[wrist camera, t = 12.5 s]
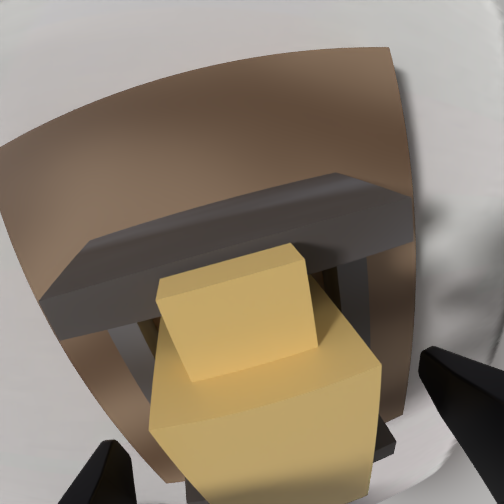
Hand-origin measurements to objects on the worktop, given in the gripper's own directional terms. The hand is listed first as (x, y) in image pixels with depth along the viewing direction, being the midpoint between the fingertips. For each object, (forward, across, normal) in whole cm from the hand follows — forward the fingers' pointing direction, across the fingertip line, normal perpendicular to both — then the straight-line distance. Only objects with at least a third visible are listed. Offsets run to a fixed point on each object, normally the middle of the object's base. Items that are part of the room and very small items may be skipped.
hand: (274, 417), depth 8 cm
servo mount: (+5, 0, 0) cm, 5 cm away
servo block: (+4, 0, 0) cm, 4 cm away
